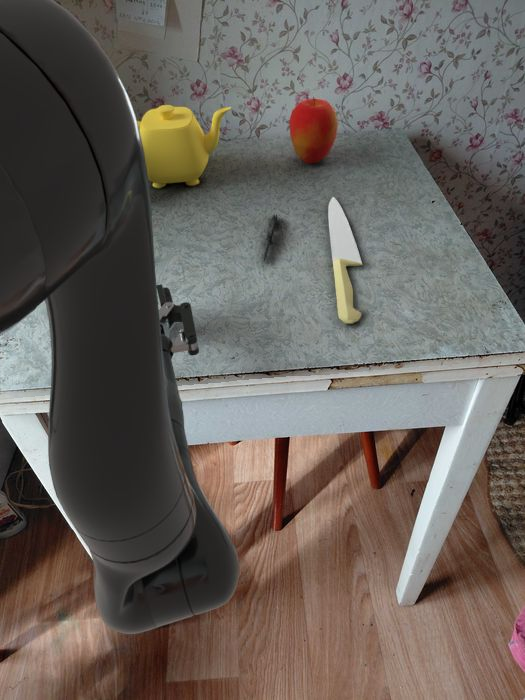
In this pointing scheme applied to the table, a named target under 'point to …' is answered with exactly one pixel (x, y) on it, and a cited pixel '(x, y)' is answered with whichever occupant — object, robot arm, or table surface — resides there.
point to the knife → (343, 261)
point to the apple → (313, 129)
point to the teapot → (177, 144)
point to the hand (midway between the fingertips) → (123, 297)
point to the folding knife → (270, 233)
